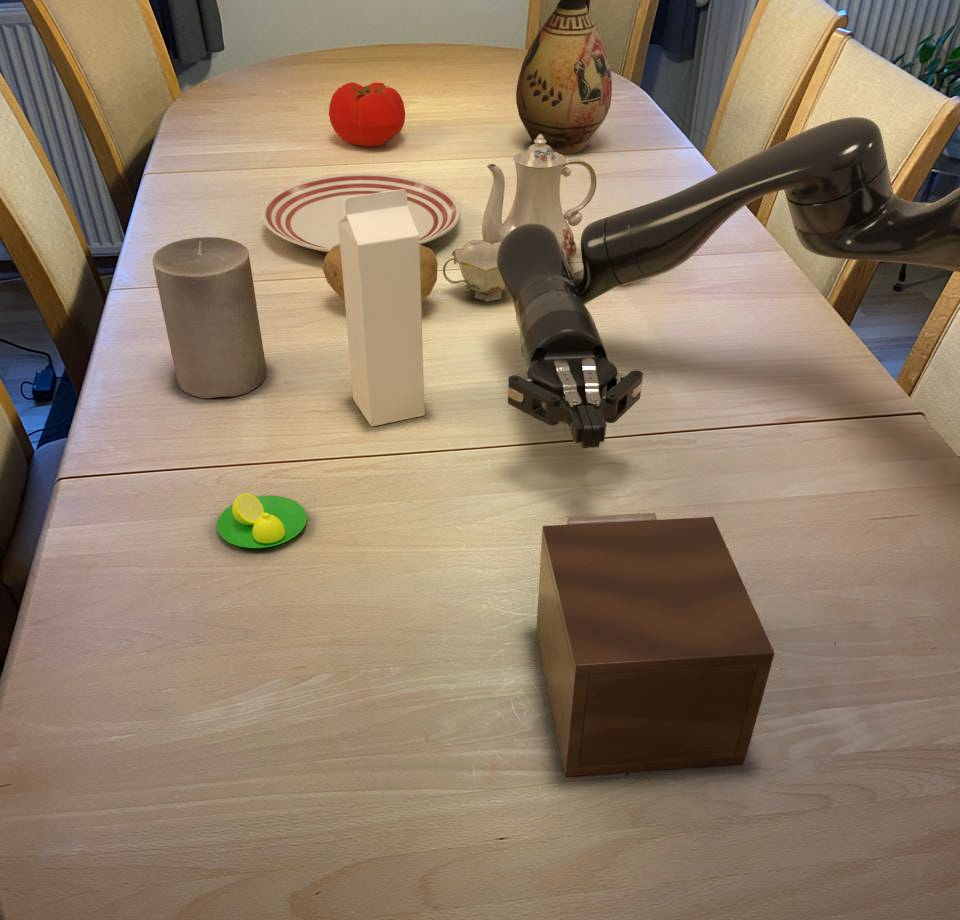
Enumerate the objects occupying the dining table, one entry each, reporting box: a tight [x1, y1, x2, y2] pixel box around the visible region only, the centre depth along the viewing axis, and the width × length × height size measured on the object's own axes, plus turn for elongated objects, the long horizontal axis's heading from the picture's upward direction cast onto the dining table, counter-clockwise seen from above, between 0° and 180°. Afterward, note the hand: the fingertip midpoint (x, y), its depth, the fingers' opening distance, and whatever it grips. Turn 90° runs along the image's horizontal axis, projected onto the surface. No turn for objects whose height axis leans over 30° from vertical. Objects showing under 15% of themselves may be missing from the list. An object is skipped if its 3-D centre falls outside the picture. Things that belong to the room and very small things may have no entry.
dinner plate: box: [260, 172, 462, 253], centre depth 143 cm, size 27×27×3 cm
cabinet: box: [535, 516, 775, 777], centre depth 74 cm, size 15×13×11 cm
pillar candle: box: [152, 236, 268, 399], centre depth 108 cm, size 10×10×15 cm
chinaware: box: [442, 134, 597, 302], centre depth 128 cm, size 28×17×17 cm, turn 114°
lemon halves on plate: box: [216, 492, 308, 549], centre depth 92 cm, size 8×8×3 cm
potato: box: [322, 244, 439, 304], centre depth 123 cm, size 10×14×8 cm
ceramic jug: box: [515, 0, 613, 155], centre depth 162 cm, size 17×15×30 cm
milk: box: [338, 189, 426, 427], centre depth 101 cm, size 6×6×22 cm
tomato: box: [328, 81, 406, 148], centre depth 170 cm, size 14×13×9 cm
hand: (592, 438), depth 87 cm, fingers closed
